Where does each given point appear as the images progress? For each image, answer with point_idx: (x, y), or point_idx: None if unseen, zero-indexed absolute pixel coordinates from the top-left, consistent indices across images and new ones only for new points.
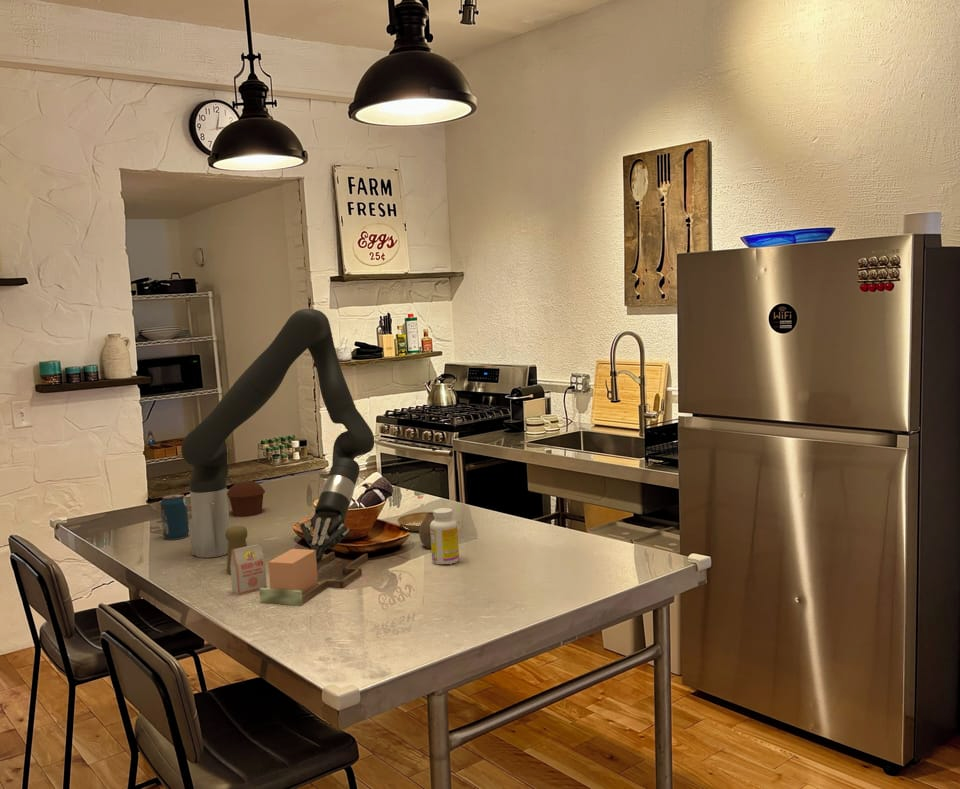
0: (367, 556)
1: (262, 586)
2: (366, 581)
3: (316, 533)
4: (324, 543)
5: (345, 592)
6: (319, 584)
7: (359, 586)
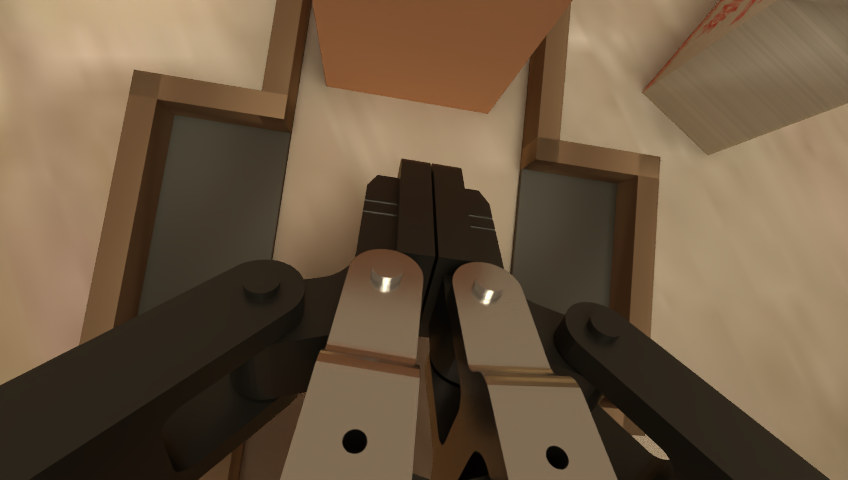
0: None
1: (665, 67)
2: (16, 235)
3: (515, 386)
4: (335, 298)
5: (110, 13)
6: (290, 13)
7: (41, 129)
